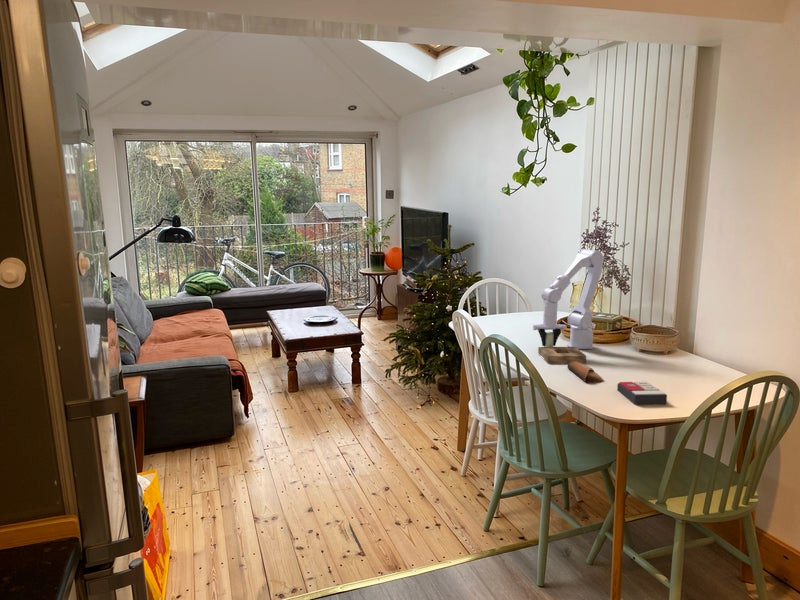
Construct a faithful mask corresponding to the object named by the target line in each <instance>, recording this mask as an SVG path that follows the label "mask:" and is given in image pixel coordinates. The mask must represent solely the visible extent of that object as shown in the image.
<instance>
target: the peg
mask: <svg viewBox="0 0 800 600" xmlns="http://www.w3.org/2000/svg"><path fill="white" fill-rule="evenodd" d="M545 332H546V337H545V346H543V347H554V346H553V343H554V333H553V331H545Z"/></svg>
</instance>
